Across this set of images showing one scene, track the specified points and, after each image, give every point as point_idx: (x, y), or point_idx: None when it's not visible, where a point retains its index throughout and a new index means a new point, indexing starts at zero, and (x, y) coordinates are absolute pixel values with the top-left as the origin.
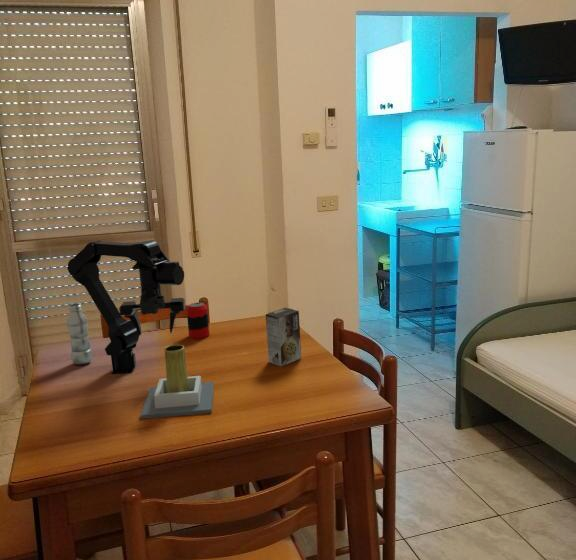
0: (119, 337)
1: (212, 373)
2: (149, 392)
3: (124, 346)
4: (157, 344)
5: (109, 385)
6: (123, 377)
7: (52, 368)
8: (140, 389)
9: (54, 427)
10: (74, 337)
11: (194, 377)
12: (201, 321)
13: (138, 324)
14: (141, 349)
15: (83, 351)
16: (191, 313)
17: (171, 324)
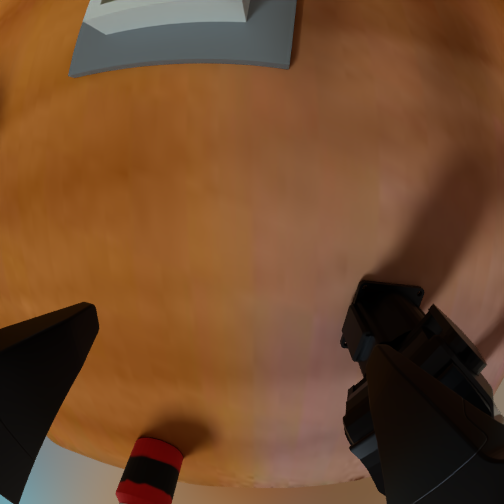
0: (470, 366)
1: (70, 175)
2: (291, 19)
3: (429, 334)
4: (260, 448)
5: (436, 185)
6: (392, 244)
7: (499, 357)
8: (331, 92)
9: (488, 3)
10: (502, 416)
11: (104, 5)
12: (134, 470)
13: (426, 424)
14: (305, 435)
15: None
16: (152, 496)
17: (22, 330)
